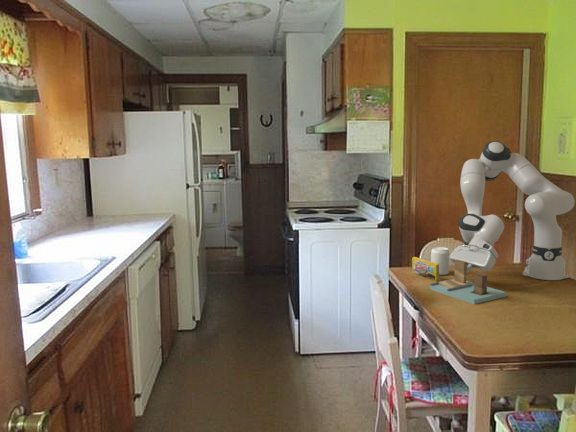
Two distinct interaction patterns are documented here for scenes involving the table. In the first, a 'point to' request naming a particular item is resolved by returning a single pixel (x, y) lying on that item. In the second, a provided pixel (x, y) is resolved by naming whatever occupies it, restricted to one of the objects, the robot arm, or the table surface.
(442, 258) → the beverage can
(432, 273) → the candy box
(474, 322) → the table surface
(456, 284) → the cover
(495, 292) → the puzzle board
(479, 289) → the walnut block
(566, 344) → the table surface
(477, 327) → the table surface
